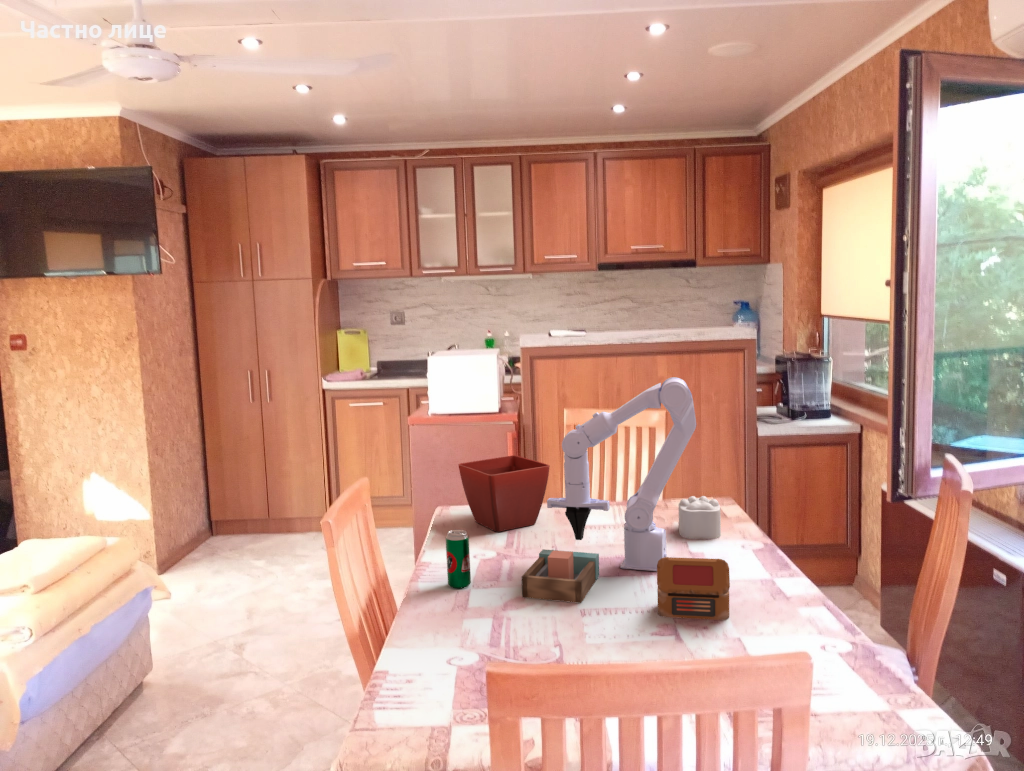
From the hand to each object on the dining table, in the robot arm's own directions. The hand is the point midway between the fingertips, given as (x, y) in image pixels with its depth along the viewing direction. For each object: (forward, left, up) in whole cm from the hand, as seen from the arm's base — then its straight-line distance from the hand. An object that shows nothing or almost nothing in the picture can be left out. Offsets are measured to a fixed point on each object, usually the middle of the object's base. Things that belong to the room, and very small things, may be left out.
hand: (579, 538), depth 179 cm
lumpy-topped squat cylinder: (-24, -30, -6) cm, 39 cm away
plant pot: (+28, -26, -6) cm, 39 cm away
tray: (0, +15, -6) cm, 16 cm away
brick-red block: (0, +15, -5) cm, 16 cm away
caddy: (0, +16, -6) cm, 17 cm away
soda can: (+22, +20, -6) cm, 30 cm away
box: (-28, +22, -7) cm, 36 cm away
